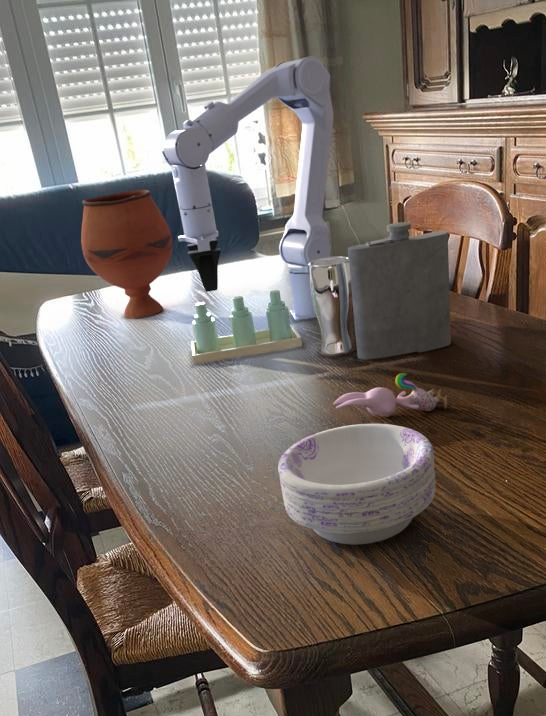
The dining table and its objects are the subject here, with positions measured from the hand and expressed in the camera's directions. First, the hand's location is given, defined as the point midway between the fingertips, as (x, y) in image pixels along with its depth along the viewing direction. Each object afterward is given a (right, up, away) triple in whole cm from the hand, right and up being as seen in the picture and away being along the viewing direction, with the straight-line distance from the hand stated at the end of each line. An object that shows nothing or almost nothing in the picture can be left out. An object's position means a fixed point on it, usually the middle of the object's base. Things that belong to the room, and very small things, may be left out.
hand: (210, 286), depth 136 cm
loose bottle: (0, -13, -3) cm, 13 cm away
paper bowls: (+23, -42, -60) cm, 77 cm away
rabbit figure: (+29, -28, -36) cm, 54 cm away
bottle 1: (+7, -12, -2) cm, 14 cm away
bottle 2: (+13, -11, -1) cm, 17 cm away
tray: (+7, -12, -2) cm, 14 cm away
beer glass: (+23, -14, -9) cm, 28 cm away
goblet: (-19, +4, +33) cm, 39 cm away
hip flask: (+34, -15, -14) cm, 39 cm away
